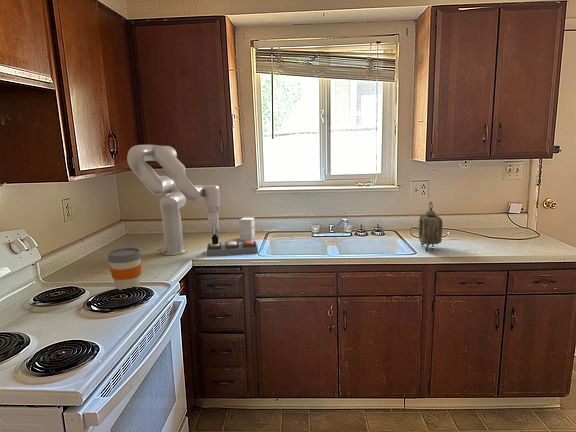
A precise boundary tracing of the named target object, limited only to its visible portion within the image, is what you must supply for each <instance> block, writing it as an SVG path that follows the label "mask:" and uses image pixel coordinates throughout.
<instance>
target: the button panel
mask: <svg viewBox="0 0 576 432" xmlns="http://www.w3.org/2000/svg"><path fill="white" fill-rule="evenodd" d="M241 241H242V240H241ZM253 241H254V244H244V242H245V241H242V242H241V243H239V241H236V242H237V245H227V243H228V242H229V241H227V242H225V244H222V242H218V243H219V244H220V246H210V243H207V246H206V256H207V257H214V256H215V257H216V256H217V257H218V256H228V255H229V256H233V255H247V254H250V255H251V254H259V252H258V251H259V250H258V248H259V247H258V245H257V242H256V240H253Z"/></svg>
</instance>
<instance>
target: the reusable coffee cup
mask: <svg viewBox="0 0 576 432" xmlns="http://www.w3.org/2000/svg"><path fill="white" fill-rule="evenodd" d="M141 258H142V253H141V249H139V248H137V247H123V248H117V249H114V250H110V251H109V252H108V253H107V261H108V262H109V270H110V274H111V278H112V280H113V282H114V286H115V290H116V289H119V290H122V289H127V288H132V287H138V286H139V287H140V281H141V280H140V278H141V275H142V262H141ZM139 287H138V288H139Z"/></svg>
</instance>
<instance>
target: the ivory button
mask: <svg viewBox="0 0 576 432" xmlns="http://www.w3.org/2000/svg"><path fill="white" fill-rule="evenodd" d="M227 242H228V243H227V245H237V242H238V241H227Z"/></svg>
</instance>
